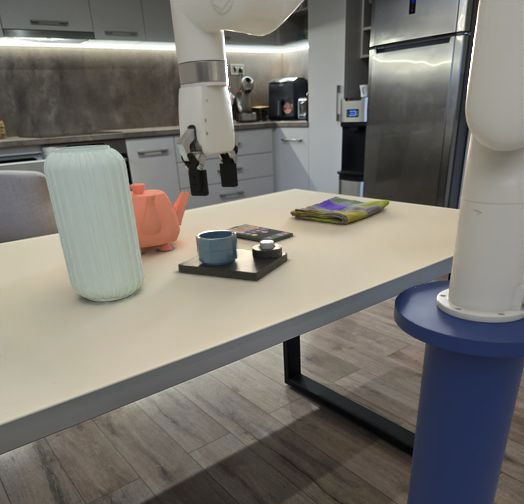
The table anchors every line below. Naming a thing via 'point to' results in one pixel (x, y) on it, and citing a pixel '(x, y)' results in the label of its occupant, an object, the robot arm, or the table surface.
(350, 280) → the table surface
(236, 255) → the bowl
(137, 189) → the teapot
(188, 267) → the scale
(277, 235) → the smartphone
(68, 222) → the vase
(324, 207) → the dish towel
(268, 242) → the button
